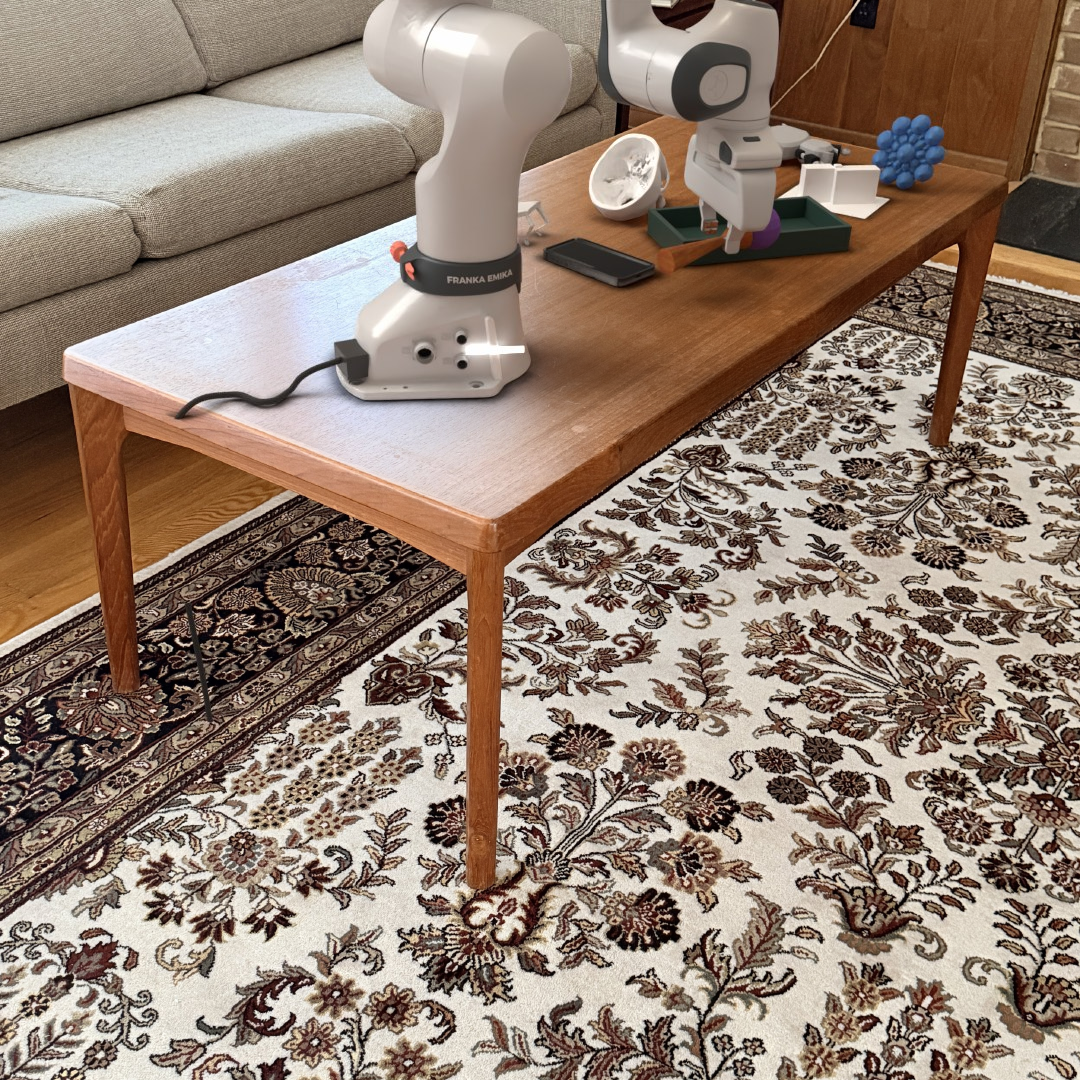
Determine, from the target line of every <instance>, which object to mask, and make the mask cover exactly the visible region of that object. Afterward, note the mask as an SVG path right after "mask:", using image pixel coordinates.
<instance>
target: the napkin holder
mask: <svg viewBox="0 0 1080 1080" xmlns="http://www.w3.org/2000/svg"><path fill="white" fill-rule="evenodd" d="M880 172H881V169H879V168H878V167H877V166H876V165H873V164H864V165H863V164H862V165H861V164H860V165H842V163H836V164H834V165H831V164H803V163H801V169H800V176H799V183H798V184H797V185H795V186H794V187H792V188H791V189H789V190H788V191H787V192H785V193H783V194H782V195H780V196H779V197H778V198H789V197H801V196H810V197H811V198H813V199H814V200H815V201H817V202H818V203H820V204H821V205H823V206H824V207H825V208H827V209H828V210H830V211H831V212H832V213H834V214H840V215H844V216H849V217H854V218H859V219H863V220H865V219H867V218H868V217H869V216H871V215H872V214H873V213H874V212H876V211H877V210H878V209H879V208H881V207H882V206H883V205H885V204H886V203H887V202H889V201H890V200H891V199H890V198H886V197H882V196H877V192H878V186H879V180H880V178H879V176H880Z"/></svg>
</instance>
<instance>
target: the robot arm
mask: <svg viewBox="0 0 1080 1080" xmlns="http://www.w3.org/2000/svg"><path fill="white" fill-rule="evenodd" d="M493 1H494V0H382V1H381V2H380V3H378V4H377V6H376V7H375V8H374V10H373V11H372V12H371V14H370V16H369V17H368V19H367V22H366V23H365V28H364V32H363V37H362V55H363V59H364V63H365V65H366V68H367V71H368V72H369V74H370V75H371V77H372V78H373V79H374V80H375V81H376V82H377V83H378V84H380V86H382V87H383V88H385V90H387V91H388V92H390V93H391V94H393V95H394V96H396V97H398V98H399V99H401V100H402V101H404V102H406V103H408V104H411V105H414V106H417V107H420V108H423V109H427V110H430V111H433V112H437V113H440V114H441V116H442V117H443V123H444V124H443V134H442V141H441V144H440V148H439V151H438V153H437V154H436V155H434V156H432V157H431V158H429V159H428V160H427V161H426V162H424V163H423V164H422V165H421V166H420V168H419V170H418V172H417V173H416V176H415V180H414V194H415V197H414V198H415V218H416V220H415V221H416V242H414V244H413V245H411V246H410V247H409V248H408V245H407V244H406V243H405V242H404V241H401V240H395V241H393V243H391V244H392V245H390V246H389V248H390V249H389V253H390V255H391V256H392V259H393V260H394V261H395V263H396V264H397V263H398V264H399V274H400V277H399V278H398V279H397V280H395V281H394V282H393V283H392V284H391V285H389V286H388V287H387V288H386V289H384V290H383V291H382V292H380V293H378V295H377V296H375V297H374V298H373V299H371V300H369V301H368V302H367V303H366V304H365V305H363V307H362V308H361V309H360V311H359V313H358V315H357V318H356V322H355V327H354V334H353V338H351V339H345V340H339V341H338V340H337V341H334V342H333V349H334V350H333V351H334V358H333V359H329V360H327V361H324V362H321V363H318V364H315V365H313V366H310V367H308V368H306V369H305V370H304V371H302V372H300V373H299V374H298V375H297V376H296V377H295V379H294V380H293V381H292V382H291V384H290V385H289V386H288V387H287V388H286V389H284V391H282V392H280V394H278V395H276V396H273V397H268V398H258V397H255V396H253V395H251V394H249V393H246V392H243V391H239V390H234V391H233V390H231V391H230V390H229V391H217V392H216V391H215V392H210V393H208V392H207V393H205V394H201V395H199V396H196V397H194V398H192V399H191V400H190V401H188V402H187V403H186V404H185V405H184V406H183V407H181V408H180V410H179V411H178V412H177V414H176V415H175V416H174V420H181V419H183V418H184V417H185V416H186V414H187V413H189V411H190V410H191V409H193V408H194V407H195V406H197V405H198V404H201V403H203V402H206V401H210V400H219V399H236V398H237V399H242V400H245V401H247V402H249V403H251V404H253V405H257V406H270V405H275V404H278V403H280V402H282V401H283V400H284V399H286V398H288V397H289V396H290V395H292V394H293V393H294V392H295V390H296V389H298V387H299V385H300V384H301V383H302V382H303V380H305V379H306V378H307V377H310V376H311V375H313V374H315V373H317V372H319V371H322V370H326V369H329V368H332V367H334V366H335V370H336V375H337V377H338V379H339V382H340V384H341V385H342V386H343V388H344V389H345V390H346V391H347V392H349V393H350V394H351V395H353V396H354V397H356V398H359V399H361V400H363V401H384V400H385V401H386V400H389V401H390V400H391V401H392V400H429V399H466V398H469V399H470V398H472V399H473V398H490V397H494V396H496V395H498V394H499V393H500V392H501V390H502V389H503V388H504V386H506V385H507V384H509V383H510V382H512V381H514V380H516V379H518V378H520V377H521V376H522V375H523V374H525V373H526V372H527V371H528V369H529V368H530V366H531V362H532V360H531V354H530V352H529V349H528V346H527V342H526V336H525V332H524V327H523V322H522V321H523V320H522V313H521V304H520V294H521V291H522V283H523V255H522V245H521V244H520V243H518V225H519V224H518V222H519V221H518V220H519V219H518V202H519V195H520V194H519V193H520V181H521V176H522V171H523V166H524V163H525V160H526V158H527V154H528V153H529V150H530V147H531V146H532V143H533V142H534V140H535V138H536V137H537V136H538V135H539V134H540V133H541V132H542V131H543V130H544V129H546V128H547V127H548V126H550V125H551V124H552V123H554V121H555V120H556V119H557V118H558V117H559V116H560V114H561V112H562V111H563V109H564V108H565V106H566V103H567V101H568V99H569V96H570V92H571V89H572V82H573V67H572V59H571V55H570V53H569V50H568V48H567V45H566V44H565V42H564V41H563V40H562V38H561V37H559V35H557V34H556V33H554V32H552V31H551V30H549V29H547V28H546V27H544V26H543V25H541V24H539V23H537V22H535V21H534V20H532V19H531V18H529V17H527V16H525V15H522V14H519V13H514V12H510V11H505V10H501V9H497V8H492V5H493ZM600 11H601V12H600V13H601V16H600V17H601V24H600V25H601V26H600V37H599V43H598V44H599V45H598V51H597V60H596V61H597V62H596V63H597V64H596V65H597V74H598V79H599V82H600V85H601V87H602V90H603V92H604V93H605V94H606V95H607V96H608V98H610V99H611V100H612V101H614V102H616V103H618V104H622V105H626V106H631V107H636V108H642V109H646V110H648V111H652V112H653V113H657V114H660V115H662V116H666V117H667V116H668V117H671V118H674V119H677V120H680V121H683V122H692V123H697V124H696V131H695V133H694V134H692V136H691V137H690V140H689V142H688V147H687V154H686V159H685V165H684V174H683V176H684V177H683V178H684V185H685V187H686V188H687V189H688V190H690V192H692V193H694V195H696V197H698V198H699V200H698V205H699V206H700V212H701V218H702V222H701V231H703V232H704V233H705V234H706V235H710V234H711V235H714V234H716V233H717V227H718V221H717V220H716V211H717V212H718V213H719V214H720V215H721V216H723V217H724V218H725V219H726V220H728V224H727V227H728V228H729V230H728V233H727V236H726V237H723V245H722V249H723V250H724V251H725V252H726V253H728V254H735V253H737V252H738V251H739V247H740V240H741V239H742V237H743V235H744V233H745V232H754V231H763V230H764V229H765V228H766V227H767V225H768V224H769V222H770V218H771V214H772V208H773V202H774V199H775V196H776V190H777V189H776V188H777V173H776V170H775V168H779V167H781V165H782V162H783V160H782V150H781V148H780V146H779V145H778V143H777V142H776V140H775V138H774V136H773V133H772V130H771V127H772V126H771V125H769V124H770V118H771V117H770V116H771V105H770V94H771V89H772V86H773V84H774V82H775V79H776V72H777V66H778V65H777V63H778V55H779V54H778V53H779V41H780V40H779V39H780V37H779V36H780V28H779V18H778V13H777V10H776V9H775V8H774V7H773V6H772V5H771V4H769V3H766V2H763V1H760V0H715V1H714V3H713V7H712V8H711V10H710V11H709V12H708V13H707V14H706V15H705V16H704V17H703V18H702V19H700V21H698V22H697V23H695V24H694V25H692V26H691V27H687V28H685V30H683V29H679V28H675V27H671V26H668V25H665V24H663V22H661V21H660V20H659V19H658V17H657V16H656V14H655V13H654V10H653V7H652V0H600ZM184 608H185V613H186V617H187V623H188V626H189V627H188V628H189V631H190V637H191V642H192V645H193V650H194V651H193V652H194V657H195V660H196V665H197V671H198V675H199V680H200V686H201V687H200V688H201V692H202V698H203V702H204V703H203V704H204V709H205V716H206V722H207V723H213V721H214V719H213V713H212V706H211V699H210V693H209V688H208V683H207V682H208V681H207V676H206V672H205V671H206V670H205V666H204V661H203V656H202V651H201V646H200V640H199V636H198V632H197V631H198V630H197V626H196V622H195V616H194V612H193V607H192V602H185V603H184Z"/></svg>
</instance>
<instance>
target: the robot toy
mask: <svg viewBox="0 0 1080 1080" xmlns="http://www.w3.org/2000/svg"><path fill="white" fill-rule="evenodd" d="M770 127H771V130H772V133H773V136H774V138H775V140H776V142H777V143H778V145H779V146H780V148H781V150H782V161H787V160H788V161H789V160H793V159H797V160H798V163H800V164H831V165H832V166H834V164H838V162H839V160H840V156H841V155H842V156H844V157H849V156H851V150H850V149H849V148H842V147H843V146H842V145H841V144H835V143H831V142H830V141H826V140H823V139H818V138H814V137H811V135H810V134H809V132H808V131H806V130H803V129H800V128H796V127H794V126H791V125H787V124H785V123H781V125H774V126H770Z"/></svg>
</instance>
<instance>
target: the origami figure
mask: <svg viewBox="0 0 1080 1080" xmlns="http://www.w3.org/2000/svg"><path fill="white" fill-rule="evenodd" d="M541 203H542V202H541V201H540V200H534V201H533V200H531V201H518V218H523V217H525V219H526V220H527V223H528V224H529V228H528V230H527V232H526V234H525V236H524V237H523V242H524V244H525V246H529V245H530V242H529V240H528V237H529V236H530V233H531V232H532V231H534V232H535V234H537V236H539V237H542V236H543V234H542V233H541V232H540V231H539V230H540V229H542V228H544V227H545V226H547V225H549V224H550V223H551V222H550V220H549V218H548V216H547V214H546V212H545V211H544V209H543V207H542V204H541ZM535 210H536V211H537V212H538V214H539V215H540V217H541V218H542V220H543V221H544V223H543V224H542V225H540V226H539V227H537V228H535V230H533V229H534V227H535V223H534V221H533V220H532V218H531V217H530V214H531V213H533V212H534V211H535Z"/></svg>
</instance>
